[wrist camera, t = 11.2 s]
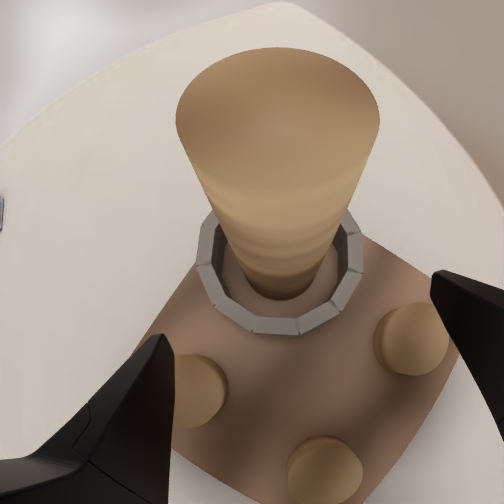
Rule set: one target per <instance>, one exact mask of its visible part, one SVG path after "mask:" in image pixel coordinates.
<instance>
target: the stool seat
mask: <svg viewBox="0 0 504 504" xmlns="http://www.w3.org/2000/svg"><path fill="white" fill-rule="evenodd" d="M430 287H431V278H429V277H428V276H426V275H425V274H423V273H422V272H420V271H419V270H417V269H416V268H414V267H413V266H411V265H410V264H408V263H407V262H405V261H404V260H402V259H401V258H399V257H398V256H396V255H395V254H393V253H391V252H390V251H388V250H387V249H385V248H384V247H382V246H380V245H379V244H377V243H376V242H374V241H372V240H371V239H369V238H368V237H366V236H364V235H363V234H362V232H361V230H360V228H359V226H358V225H357V223H356V222H355V220H354V219H353V217H352V215H351V214H350V212H349V211H348V209H347V210H346V212H345V214H344V216H343V219H342V221H341V223H340V225H339V227H338V230H337V232H336V234H335V236H334V238H333V240H332V243H331V245H330V247H329V249H328V251H327V253H326V255H325V257H324V260H323V262H322V264H321V266H320V268H319V270H318V272H317V274H316V276H315V278H314V280H313V282H312V284H311V285H310V287H309V288H308V289H307V290H306V291H305V292H304V293H303V294H301V295H300V296H298V297H296V298H294V299H290V300H286V301H275V300H270V299H267V298H265V297H263V296H261V295H259V294H258V293H257V292H256V291H255V290H253V288H252V287H251V286H250V284H249V283H248V281H247V279H246V277H245V275H244V273H243V271H242V269H241V267H240V264H239V262H238V260H237V258H236V256H235V254H234V252H233V250H232V248H231V246H230V244H229V242H228V240H227V238H226V236H225V234H224V231H223V229H222V227H221V225H220V223H219V221H218V219H217V217H216V215H215V213H214V211H213V210H212V211H211V212H210V214H209V215H208V216H207V218H206V219H205V220H204V222H203V223H202V226H201V228H200V235H199V243H198V250H197V258H196V262H195V264H194V265H193V266H192V268H191V269H190V271H189V272H188V273H187V275H186V276H185V278H184V279H183V280H182V282H181V283H180V285H179V286H178V287H177V289H176V290H175V292H174V293H173V295H172V296H171V297H170V299H169V300H168V302H167V303H166V305H165V306H164V307H163V309H162V310H161V312H160V313H159V315H158V316H157V318H156V319H155V321H154V322H153V323H152V325H151V326H150V328H149V329H148V331H147V332H146V334H145V335H144V337H143V338H142V340H141V341H140V343H139V344H138V346H137V347H136V349H135V350H134V352H135V351H136V350H137V349H138V348H139V347H140V346H141V345H142V344H143V343H144V342H145V341H146V340H147V339H148V338H149V337H150V336H151V335H152V334H158V333H164V334H165V335H166V337H167V339H168V341H169V343H170V345H171V347H172V349H173V351H174V355H175V406H174V417H173V428H172V441H171V448H173V449H174V450H175V451H177V452H178V453H179V454H181V455H182V456H183V457H185V458H186V459H188V460H189V461H191V462H192V463H194V464H195V465H196V466H198V467H199V468H201V469H202V470H204V471H206V472H207V473H209V474H210V475H212V476H213V477H215V478H217V479H218V480H220V481H221V482H223V483H225V484H226V485H228V486H230V487H232V488H233V489H235V490H237V491H239V492H240V493H242V494H244V495H246V496H248V497H249V498H251V499H253V500H255V501H257V502H259V503H261V504H362V503H363V501H364V500H365V499H366V498H367V497H368V496H369V495H370V494H371V492H372V491H373V490H374V489H375V488H376V487H377V485H378V484H379V483H380V482H381V481H382V479H383V478H384V477H385V476H386V474H387V473H388V472H389V471H390V469H391V468H392V467H393V465H394V464H395V463H396V461H397V460H398V459H399V457H400V456H401V455H402V453H403V452H404V450H405V449H406V448H407V446H408V445H409V443H410V442H411V440H412V439H413V437H414V436H415V434H416V433H417V431H418V430H419V428H420V426H421V425H422V423H423V422H424V420H425V418H426V417H427V415H428V413H429V412H430V410H431V408H432V407H433V405H434V403H435V401H436V400H437V398H438V396H439V394H440V392H441V390H442V389H443V387H444V385H445V383H446V381H447V379H448V377H449V375H450V373H451V371H452V369H453V367H454V365H455V362H456V360H457V358H458V356H459V354H460V353H459V351H458V349H457V348H456V346H455V344H454V342H453V341H452V339H451V338H450V336H449V334H448V332H447V330H446V328H445V326H444V324H443V322H442V320H441V318H440V316H439V314H438V312H437V310H436V308H435V306H434V304H433V302H432V300H431V298H430ZM134 352H133V353H134ZM133 353H132V354H133Z"/></svg>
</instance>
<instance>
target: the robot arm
mask: <svg viewBox="0 0 504 504" xmlns="http://www.w3.org/2000/svg"><path fill="white" fill-rule="evenodd" d="M430 298H431V300H432V302H433V304H434V306H435V308H436V310H437V312H438V314H439V316H440V318H441V320H442V322H443V324H444V326H445V328H446V330H447V332H448V334H449V336H450V338H451V339H452V341H453V342H454V344H455V346H456V348H457V349H458V351H459V353H460V354H461V356H462V358H463V360H464V361H465V363H466V365H467V367H468V369H469V370H470V372H471V374H472V376H473V378H474V380H475V382H476V383H477V385H478V387H479V389H480V391H481V393H482V395H483V397H484V399H485V401H486V403H487V405H488V407H489V409H490V412H491V414H492V416H493V418H494V420H495V422H496V425H497V427H498V429H499V432H500V434H501V436H502V439H503V441H504V290H502V289H499V288H496V287H494V286H491V285H488V284H485V283H482V282H479V281H476V280H473V279H470V278H467V277H464V276H461V275H458V274H455V273H452V272H449V271H446V270H440V271H436V272H434V273H433V275H432V279H431V287H430ZM174 406H175V355H174V351H173V349H172V347H171V345H170V343H169V341H168V339H167V337H166V335H165V334H164V333H158V334H152V335H151V336H150V337H149V338H148V339H147V340H146V341H145V342H144V343H143V344H142V345H141V346H140V347H139V348H138V349H137V350H136V351H135V352H134V353H133V354H132V355H131V356H130V357H129V359H128V360H127V361H126V362H125V363H124V364H123V365H122V366H121V367H120V368H119V369H118V370H117V371H116V372H115V373H114V374H113V375H112V376H111V377H110V378H109V380H108V381H107V382H106V383H105V384H104V385H103V386H102V387H101V388H100V389H99V390H98V391H97V392H96V393H95V394H94V395H93V396H92V398H91V399H90V400H89V401H88V403H86V404H85V405H84V406H83V407H82V408H81V409H80V410H79V411H78V412H77V413H76V414H75V415H74V416H73V417H72V418H71V419H70V420H69V421H68V422H67V423H66V424H65V425H64V426H63V427H62V428H61V429H60V430H59V431H58V432H56V433H55V434H54V435H53V436H52V437H51V438H50V439H49V440H47V441H46V442H45V443H44V444H43V445H42V446H41V447H40V448H39V449H37V450H36V451H35V452H34V453H32V454H30V455H28V456H25V457H22V458H15V459H5V460H0V504H168V491H169V471H170V455H171V441H172V428H173V417H174Z"/></svg>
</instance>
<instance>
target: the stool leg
mask: <svg viewBox="0 0 504 504" xmlns="http://www.w3.org/2000/svg"><path fill="white" fill-rule="evenodd" d="M379 124H380V118H379V110H378V106H377V103H376V100H375V98H374V96H373V94H372V93H371V91H370V89H369V88H368V87H367V85H366V84H365V83H364V82H363V81H362V80H361V79H360V78H359V77H358V76H357V75H356V74H355V73H354V72H352V71H351V70H350V69H349V68H347V67H345V66H344V65H342V64H341V63H339V62H337V61H335V60H333V59H331V58H328V57H326V56H323V55H321V54H317V53H314V52H310V51H306V50H301V49H293V48H261V49H254V50H249V51H245V52H241V53H238V54H234V55H232V56H229V57H227V58H224V59H222V60H220V61H218V62H216V63H214V64H213V65H211V66H209V67H208V68H206V69H205V70H204V71H202V72H201V73H200V74H199V75H198V76H197V77H196V78H195V79H194V80H193V81H192V82H191V83H190V84H189V85H188V87H187V88H186V89H185V91H184V93H183V94H182V96H181V98H180V101H179V103H178V106H177V111H176V128H177V133H178V135H179V138H180V140H181V143H182V145H183V147H184V149H185V151H186V153H187V156H188V158H189V160H190V162H191V164H192V166H193V168H194V171H195V173H196V175H197V177H198V179H199V181H200V183H201V185H202V187H203V190H204V192H205V194H206V196H207V198H208V200H209V202H210V204H211V206H212V209H213V211H214V213H215V215H216V217H217V219H218V221H219V223H220V225H221V227H222V229H223V231H224V234H225V236H226V238H227V240H228V242H229V244H230V246H231V248H232V250H233V252H234V254H235V256H236V258H237V260H238V262H239V264H240V267H241V269H242V271H243V273H244V275H245V277H246V279H247V281H248V283H249V284H250V286H251V287H252V288H253V290H255V291H256V292H257V293H258V294H259V295H261V296H263V297H265V298H267V299H270V300H275V301H286V300H290V299H294V298H296V297H298V296H300V295H301V294H303V293H304V292H305V291H306V290H307V289H308V288H309V287H310V285H311V284H312V282H313V280H314V278H315V276H316V274H317V272H318V270H319V268H320V266H321V264H322V262H323V260H324V257H325V255H326V253H327V251H328V249H329V247H330V245H331V243H332V240H333V238H334V236H335V234H336V232H337V230H338V227H339V225H340V223H341V221H342V219H343V216H344V214H345V212H346V210H347V207H348V205H349V203H350V200H351V198H352V196H353V193H354V191H355V189H356V186H357V184H358V182H359V179H360V177H361V174H362V172H363V170H364V167H365V165H366V162H367V160H368V157H369V155H370V152H371V150H372V147H373V145H374V142H375V140H376V137H377V134H378V130H379Z"/></svg>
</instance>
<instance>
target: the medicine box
mask: <svg viewBox="0 0 504 504" xmlns="http://www.w3.org/2000/svg"><path fill="white" fill-rule="evenodd" d="M3 205H4V199H3V198H2V197H0V230H1V229H2V218H3Z"/></svg>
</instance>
